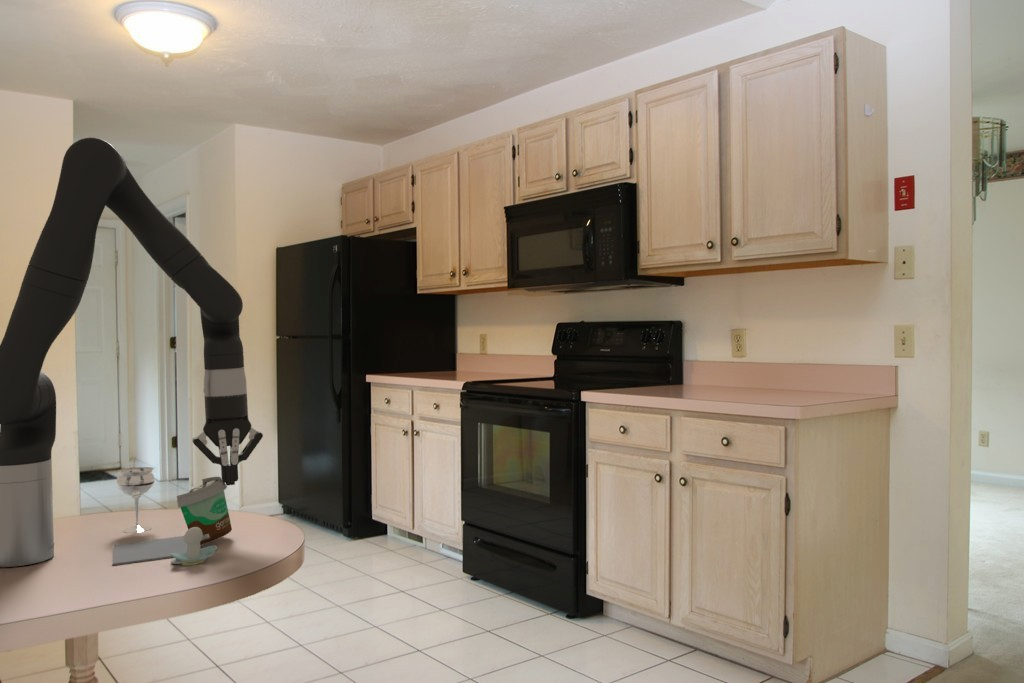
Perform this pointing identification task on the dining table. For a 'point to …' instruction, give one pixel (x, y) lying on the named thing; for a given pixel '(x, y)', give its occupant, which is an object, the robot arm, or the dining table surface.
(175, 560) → the pacifier
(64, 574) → the dining table surface
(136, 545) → the mat
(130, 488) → the wineglass
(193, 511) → the food container
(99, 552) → the dining table surface
